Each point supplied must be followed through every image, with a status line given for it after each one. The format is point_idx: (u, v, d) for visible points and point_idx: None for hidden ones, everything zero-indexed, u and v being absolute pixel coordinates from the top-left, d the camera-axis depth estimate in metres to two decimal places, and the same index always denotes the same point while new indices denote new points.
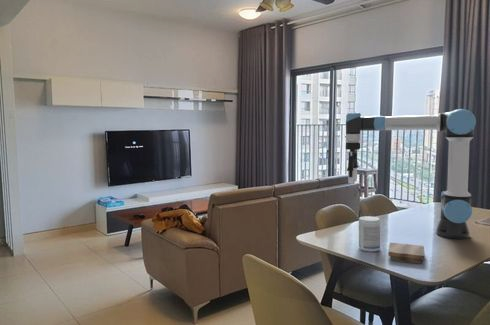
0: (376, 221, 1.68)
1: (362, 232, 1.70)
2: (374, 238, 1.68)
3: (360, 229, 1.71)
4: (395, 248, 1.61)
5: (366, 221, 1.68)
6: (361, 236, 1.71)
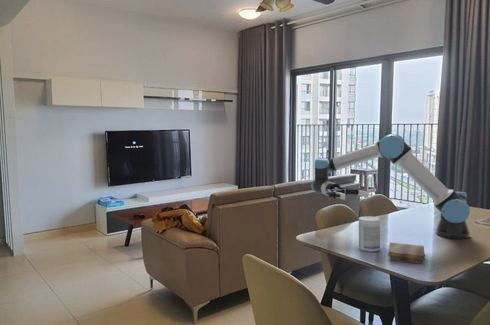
0: (376, 221, 1.68)
1: (362, 232, 1.70)
2: (374, 238, 1.68)
3: (360, 229, 1.71)
4: (395, 248, 1.61)
5: (366, 221, 1.68)
6: (361, 236, 1.71)
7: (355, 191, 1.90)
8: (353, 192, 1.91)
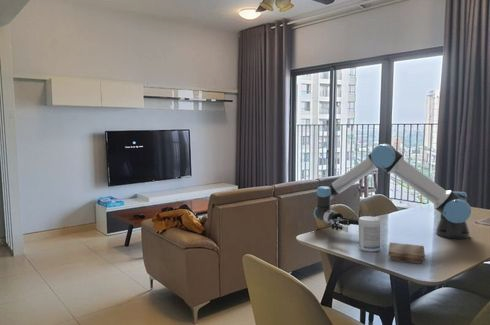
0: (376, 221, 1.68)
1: (362, 232, 1.70)
2: (374, 238, 1.68)
3: (360, 229, 1.71)
4: (395, 248, 1.61)
5: (366, 221, 1.68)
6: (361, 236, 1.71)
7: (358, 222, 1.89)
8: (356, 222, 1.89)
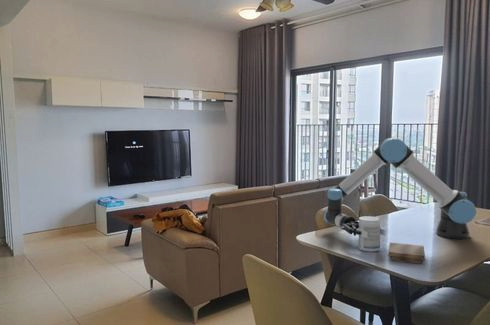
0: (376, 221, 1.68)
1: None
2: (374, 238, 1.68)
3: None
4: (395, 248, 1.61)
5: (366, 221, 1.68)
6: (361, 236, 1.71)
7: None
8: None
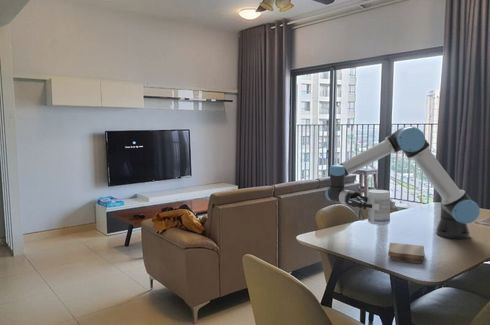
0: (387, 193, 1.64)
1: None
2: (385, 211, 1.63)
3: (370, 202, 1.66)
4: (395, 248, 1.61)
5: (377, 193, 1.63)
6: (372, 209, 1.65)
7: None
8: None
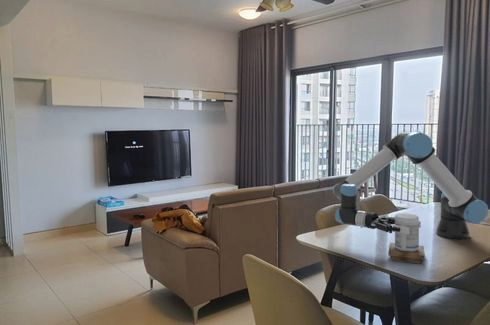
0: (417, 218, 1.57)
1: None
2: (417, 236, 1.56)
3: None
4: (395, 248, 1.61)
5: (409, 219, 1.55)
6: (403, 236, 1.56)
7: None
8: None
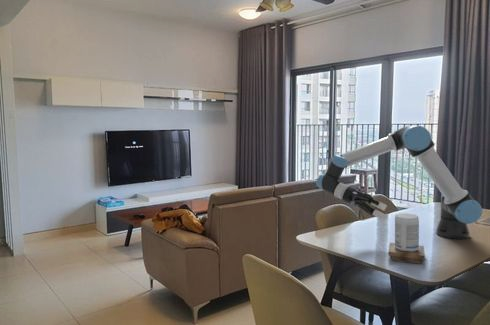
0: (417, 218, 1.57)
1: (404, 231, 1.56)
2: (417, 236, 1.56)
3: (401, 228, 1.57)
4: (395, 248, 1.61)
5: (409, 219, 1.55)
6: (403, 236, 1.56)
7: (370, 208, 1.82)
8: (368, 208, 1.81)
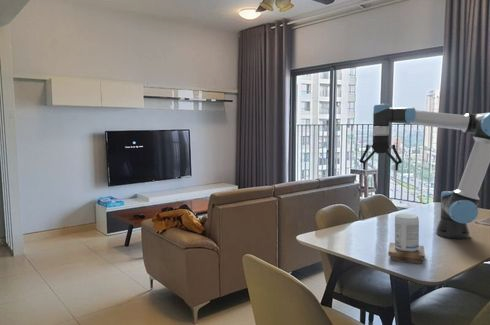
0: (417, 218, 1.57)
1: (404, 231, 1.56)
2: (417, 236, 1.56)
3: (401, 228, 1.57)
4: (395, 248, 1.61)
5: (409, 219, 1.55)
6: (403, 236, 1.56)
7: None
8: (369, 158, 1.90)
